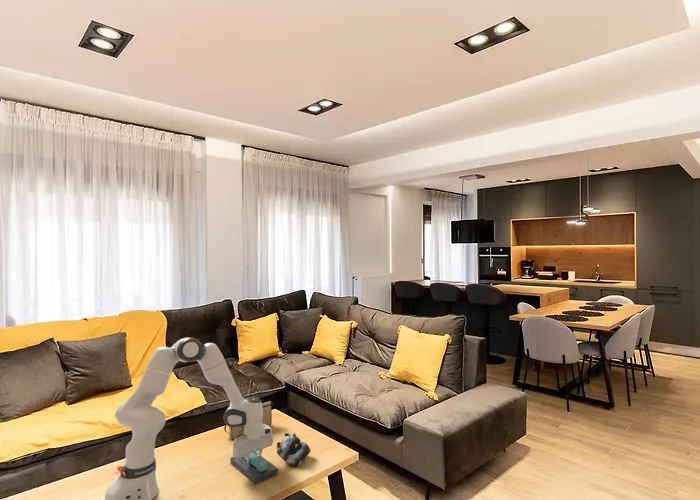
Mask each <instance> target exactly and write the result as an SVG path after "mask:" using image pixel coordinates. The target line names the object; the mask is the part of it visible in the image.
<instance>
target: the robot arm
mask: <svg viewBox="0 0 700 500" xmlns="http://www.w3.org/2000/svg"><path fill="white" fill-rule="evenodd" d="M195 361H196V362H197V363H198V364H199V366H200V368H201V371H202V373H203V376H204V378H205V379H206V381H208V383H210V384H212V385H219V386H221V387H222V388H223V389H224V391H225V394H226V396H227V397H228V399H229V402H230V403H229V406H228V407H227V409H226V410H225V412H224V413H223V415H222V417H223V422H224V425H225V424H226V425H227V426H226V427H228V428H229V427H232V428H234V427H241V426H244V435H243V436H240V437H237V438H234V439H233V442H232V446H233V447H232V457H235V458H236V459H238V458H241V457H243V456H245V457H246V459H247V463H250V462H251V458H248V456H249V454H251V453H254V452H257V456H258V457H260V455H261V456H262V453H263V450H264V449H266V448H269V447H272V446H273V444H274V433H273V428H272V427H271V426H268V425H265V424H263V423H262V417H263V408H262V404H263V403H262V400H261V399H260V398H259V397H256V396H249V397H246V396H245V395H244V394H243V392H242V391H241V390H240V387H239V385H238V383H237V382H236V380H235V378H234V376H233V374H232V373H231V371H230V369H229V367H228V364H227V362H226V359H225V357H224V355H223V353H222V352H221V350H220V348H219V347H218V345H217V344H216V343H213V342H207V343H205V344H203V343H202V342H201V341H200V340H198V339H196V338H194V337H189V336H188V337H183V338H180V339H178V340H177V341H176V342H174V343H173V344H172V345H171V346H170V347H168V346H160V347H157V348H156V349H155V350H154V352H153V353H152V355H151V356H150V358H149V360H148V362H147V365H146V367H145V369H144V372H143V373H142V376H141V378H140V381H139V382H138V385H137V387H136V388H135V390H134V392H133V393H132V394H131V396H130V397H129V398H128V399H127V400H125V401H123V402H122V403H121V404H120V405H119V406H118V407H117V409H116V410H115V414H114V415H115V416H114V417H115V421H116V422H117V423H118V424H119V425H121V426H122V427H123V428H125V429H127V430H131V432H132V433H131V434H132V436H131V440H130V441H129V442H128V443H127V444H126V447H125V464H124V465H122V464H119V465H118V466H117V468H116V469H117V471H118V472H119V474H120V475H119V476H117V478H115V480H114V481H113V482H111V483H110V484H109V485H108V486H107V488H106V490H105V493H104V497H102V498H100V500H153V499H154V498H155V497H156V496H157V495H158V494H159V492H160V488H159V485H158V482H157V477H156V469H157V461H156V458H155V457H156V456H155V445H156V439H157V435H158V434H159V432H160V431H162V430H163V428H164V427H165V424H166V415H165V412H163V411H162V410H161V409H159V408H158V407H156V406H153V403H154V401H155V400H156V399H157V398H158V397H159V396H162V395H163V394H164V392H165V391H166V388H167V386H168V383H169V381H170V378H171V375H172V372H173V369H174V368H175V365H177V364H178V363H179V362H184V363H189V362H190V363H192V362H195Z"/></svg>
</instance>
